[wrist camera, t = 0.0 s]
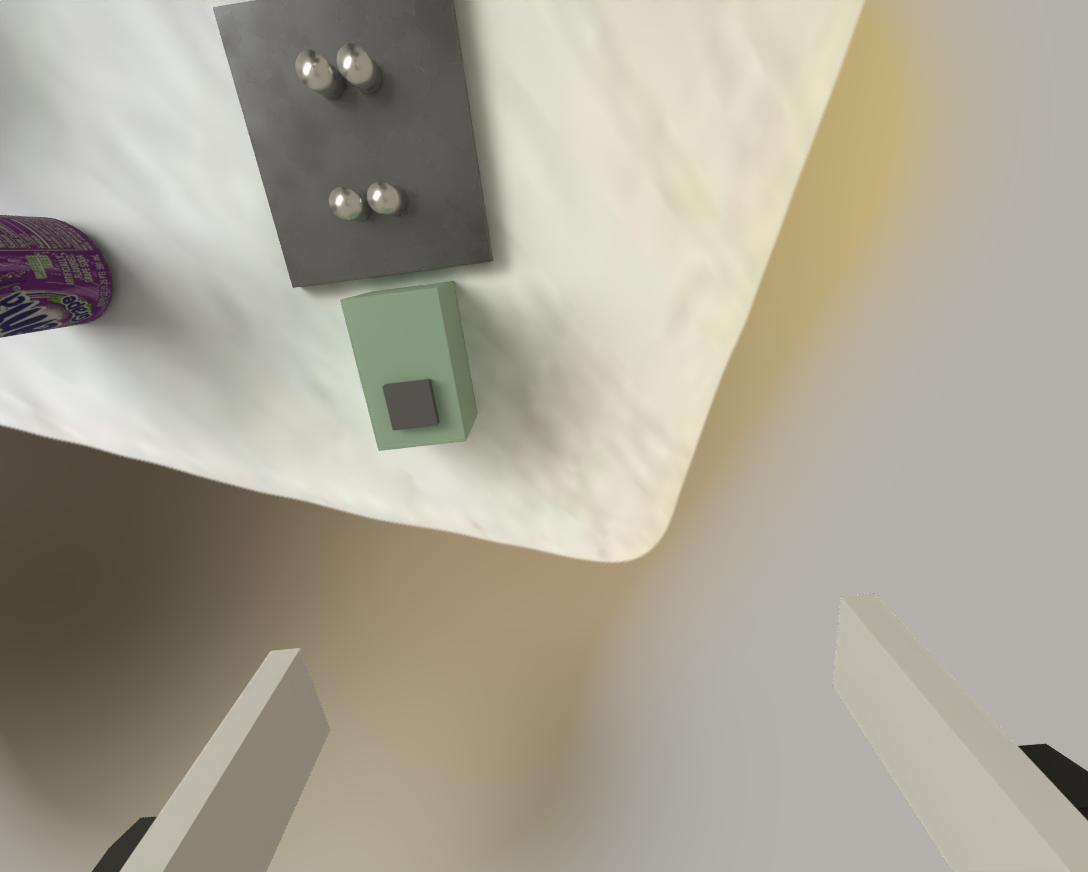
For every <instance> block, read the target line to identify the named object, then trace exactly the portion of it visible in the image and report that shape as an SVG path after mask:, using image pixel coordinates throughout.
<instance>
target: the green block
mask: <svg viewBox="0 0 1088 872" xmlns="http://www.w3.org/2000/svg"><path fill="white" fill-rule="evenodd" d="M340 301H341V305H342V309H343V313H344V317H345V321H346V325H347V328H348V332H349V336H350V340H351V344H352V348H353V352H354V356H355V360H356V364H357V368H358V372H359V375H360V379H361V383H362V387H363V391H364V395H365V399H366V403H367V407H368V411H369V415H370V419H371V423H372V426H373V430H374V434H375V438H376V442H377V446H378V450H379V451H382V450H390V449H399V448H408V447H417V446H426V445H435V444H443V443H452V442H461V441H466V440H467V437H468V435H469V432H470V430H471V428H472V425H473V423H474V421H475V418H476V416H477V410H476V404H475V398H474V393H473V387H472V381H471V376H470V370H469V364H468V359H467V353H466V348H465V342H464V336H463V331H462V325H461V319H460V314H459V308H458V302H457V297H456V291H455V286H454V281H451V282H443V283H435V284H427V285H420V286H412V287H404V288H396V289H389V290H381V291H373V292H369V293H365V294H361V295H357V296H353V297H350V298H346V299H342V300H340Z"/></svg>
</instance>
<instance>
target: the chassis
mask: <svg viewBox="0 0 1088 872" xmlns="http://www.w3.org/2000/svg"><path fill="white" fill-rule="evenodd" d="M213 10H214V14H215V17H216V21H217V24H218V28H219V31H220V35H221V38H222V42H223V45H224V49H225V52H226V56H227V59H228V62H229V66H230V69H231V73H232V76H233V80H234V83H235V87H236V90H237V94H238V97H239V101H240V104H241V108H242V111H243V115H244V118H245V122H246V125H247V129H248V132H249V136H250V139H251V143H252V146H253V150H254V153H255V157H256V160H257V164H258V167H259V171H260V174H261V178H262V181H263V185H264V188H265V192H266V195H267V199H268V202H269V206H270V209H271V213H272V216H273V220H274V223H275V227H276V230H277V234H278V237H279V241H280V244H281V248H282V251H283V255H284V258H285V262H286V265H287V269H288V272H289V276H290V279H291V283H292V286H293V288H295V287H302V286H310V285H317V284H325V283H332V282H340V281H347V280H355V279H362V278H370V277H377V276H385V275H392V274H400V273H407V272H415V271H422V270H430V269H437V268H445V267H452V266H460V265H467V264H475V263H482V262H490V261H493V258H492V252H491V245H490V239H489V232H488V226H487V219H486V212H485V206H484V199H483V193H482V186H481V180H480V173H479V166H478V160H477V153H476V147H475V140H474V134H473V127H472V120H471V114H470V107H469V101H468V94H467V88H466V81H465V74H464V68H463V61H462V55H461V48H460V42H459V35H458V28H457V22H456V15H455V9H454V2H453V0H255V1H249V2H243V3H237V4H231V5H225V6H218V7H213Z"/></svg>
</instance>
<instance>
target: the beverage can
mask: <svg viewBox="0 0 1088 872" xmlns="http://www.w3.org/2000/svg"><path fill="white" fill-rule="evenodd" d="M111 297H112V278H111V274H110V270H109V268H108V265H107V263H106V261H105V259H104V257H103V255H102V254H101V252H100V251H99V249H98V248H97V247H96V245H95V244H94V243H93V242H92V241H91V240H90V239H89V238H88V237H87V236H86V235H85V234H83V233H82V232H81V231H79V230H78V229H76V228H75V227H73V226H71V225H69V224H67V223H65V222H63V221H60V220H57V219H52V218H44V217H26V216H7V215H0V338H1V337H7V336H13V335H19V334H25V333H31V332H37V331H43V330H49V329H55V328H61V327H67V326H73V325H79V324H85V323H89V322H91V321H94V320H95V319H97V318H99V317H100V316H101V315H102V314H103V313H104V312H105V310H106V309H107V307H108V305H109V303H110V301H111Z"/></svg>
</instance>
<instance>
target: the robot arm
mask: <svg viewBox="0 0 1088 872" xmlns="http://www.w3.org/2000/svg"><path fill="white" fill-rule="evenodd" d="M840 600H841V601H840V612H839V622H838V632H837V644H836V654H835V665H834V676H833V687H834V689H835V690H836V692H837V693H838V695H839V696H840V698H841V699H842V701H843V702H844V704H845V706H846V707H847V709H848V710H849V712H850V713H851V715H852V716H853V718H854V719H855V721H856V723H857V724H858V726H859V727H860V729H861V730H862V732H863V733H864V735H865V737H866V738H867V740H868V741H869V743H870V744H871V746H872V747H873V749H874V750H875V752H876V753H877V755H878V757H879V758H880V760H881V761H882V763H883V764H884V766H885V767H886V769H887V771H888V772H889V774H890V775H891V777H892V778H893V780H894V781H895V783H896V784H897V786H898V788H899V789H900V791H901V792H902V794H903V795H904V797H905V798H906V800H907V801H908V803H909V804H910V806H911V808H912V809H913V811H914V812H915V814H916V815H917V817H918V819H919V820H920V822H921V823H922V825H923V826H924V828H925V829H926V831H927V833H928V834H929V836H930V837H931V838H932V840H933V842H934V843H935V845H936V846H937V848H938V850H939V851H940V853H941V854H942V856H943V857H944V859H945V860H946V862H947V863H948V865H949V867H950V868H951V870H952V871H953V872H1088V771H1086V770H1085V769H1083V768H1082V767H1080V766H1079V765H1077V764H1076V763H1074V762H1073V761H1071V760H1070V759H1068V758H1067V757H1065V756H1064V755H1062V754H1061V753H1059V752H1058V751H1056V750H1055V749H1053V748H1052V747H1050V746H1049V745H1047V744H1036V745H1024V746H1017V745H1016V744H1015V743H1014V742H1013V741H1012V740H1011V738H1010V737H1009V736H1008V735H1007V734H1006V733H1005V732H1004V731H1003V730H1002V729H1001V728H1000V727H999V726H998V725H997V723H995V722H994V720H993V719H992V718H991V717H990V716H989V715H988V714H987V713H986V712H985V711H984V710H983V709H982V707H981V706H980V705H979V704H978V703H977V702H976V701H975V700H974V699H973V698H972V697H971V696H970V695H969V694H968V693H967V692H966V690H965V689H964V688H963V687H962V686H961V685H960V684H959V683H958V682H957V681H956V680H955V679H954V678H953V677H952V676H951V674H950V673H949V672H948V671H947V670H946V669H945V668H944V667H943V666H942V665H941V664H940V663H939V662H938V661H937V659H935V657H933V655H932V654H931V653H930V652H929V651H928V650H927V649H926V648H925V647H924V646H923V645H922V643H921V642H920V641H919V640H918V639H917V638H916V637H915V636H914V635H913V634H912V633H911V632H910V631H909V630H908V629H907V628H906V626H905V625H904V624H903V623H902V622H901V621H900V620H899V619H898V618H897V617H896V616H895V615H894V614H893V613H892V611H890V609H889V608H888V607H887V606H886V605H885V604H884V603H883V602H882V601H881V600H880V599H879V598H878V597H877V595H875V593H869V594H859V595H849V596H841V599H840ZM329 731H330V728H329V725H328V722H327V719H326V717H325V714H324V711H323V708H322V706H321V703H320V700H319V698H318V695H317V692H316V689H315V687H314V684H313V681H312V679H311V676H310V673H309V670H308V668H307V665H306V662H305V660H304V657H303V654H302V651H301V649H300V648H298V649H289V650H288V649H287V650H278V651H270V653H269V654H268V656H267V657H266V659H265V660H264V661H263V663H262V664H261V666H260V667H259V669H258V670H257V672H256V673H255V675H254V676H253V678H252V679H251V681H250V682H249V683H248V685H247V686H246V688H245V689H244V691H243V692H242V694H241V695H240V697H239V698H238V699H237V701H236V702H235V704H234V705H233V707H232V708H231V710H230V711H229V713H228V714H227V716H226V717H225V718H224V720H223V721H222V723H221V724H220V726H219V727H218V729H217V730H216V732H215V733H214V734H213V736H212V737H211V739H210V741H209V742H208V743H207V745H206V746H205V748H204V749H203V751H202V752H201V753H200V755H199V756H198V758H197V759H196V761H195V762H194V764H193V765H192V767H191V768H190V770H189V771H188V772H187V774H186V776H185V777H184V778H183V780H182V781H181V783H180V784H179V786H178V787H177V789H176V790H175V791H174V793H173V794H172V796H171V797H170V799H169V800H168V802H167V803H166V805H165V806H164V808H163V809H162V811H161V812H160V813H159V815H158V816H157V817H145V818H140V819H139V820H138V821H137V822H136V823H135V824H134V825H133V826H132V827H131V828H130V829H129V830H127V831H126V832H125V833H124V834H123V835H122V836H121V837H120V838H119V839H118V840H117V841H116V842H115V843H114V844H113V845H112V846H111V847H110V848H109V849H108V850H107V852H106V853H105V854H104V856H103V857H102V859H101V860H100V861H99V863H98V864H97V865H96V867H95V868H94V870H93V871H92V872H266V871H267V869H268V866H269V864H270V862H271V860H272V858H273V856H274V853H275V851H276V849H277V846H278V845H279V842H280V840H281V838H282V836H283V833H284V831H285V829H286V826H287V825H288V822H289V820H290V818H291V816H292V813H293V811H294V809H295V807H296V804H297V802H298V800H299V798H300V796H301V793H302V791H303V789H304V787H305V784H306V782H307V780H308V778H309V776H310V773H311V771H312V769H313V767H314V765H315V762H316V760H317V758H318V756H319V753H320V751H321V749H322V747H323V744H324V742H325V740H326V738H327V735H328V733H329Z"/></svg>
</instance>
